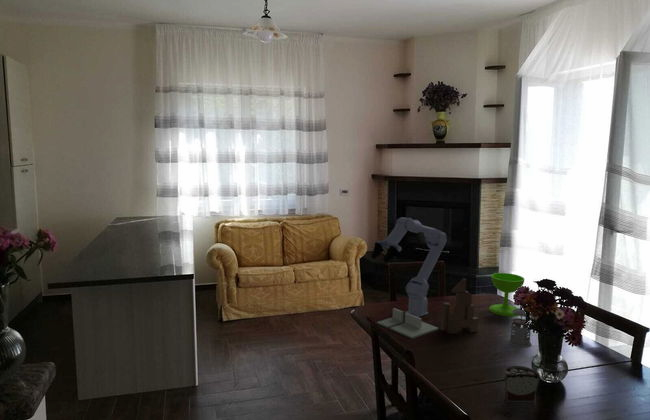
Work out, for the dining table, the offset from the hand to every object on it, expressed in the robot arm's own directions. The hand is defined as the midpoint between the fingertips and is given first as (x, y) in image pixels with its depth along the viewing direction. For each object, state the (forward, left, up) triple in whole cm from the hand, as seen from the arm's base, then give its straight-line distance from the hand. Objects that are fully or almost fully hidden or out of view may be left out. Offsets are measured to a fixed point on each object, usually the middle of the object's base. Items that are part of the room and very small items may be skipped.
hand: (378, 259), depth 219 cm
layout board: (-12, +9, -32) cm, 35 cm away
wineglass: (-70, +24, -32) cm, 80 cm away
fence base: (-13, +3, -31) cm, 34 cm away
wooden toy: (-28, +26, -32) cm, 50 cm away
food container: (+5, +74, -32) cm, 81 cm away
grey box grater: (-39, +50, -32) cm, 71 cm away
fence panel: (-13, +11, -31) cm, 35 cm away
